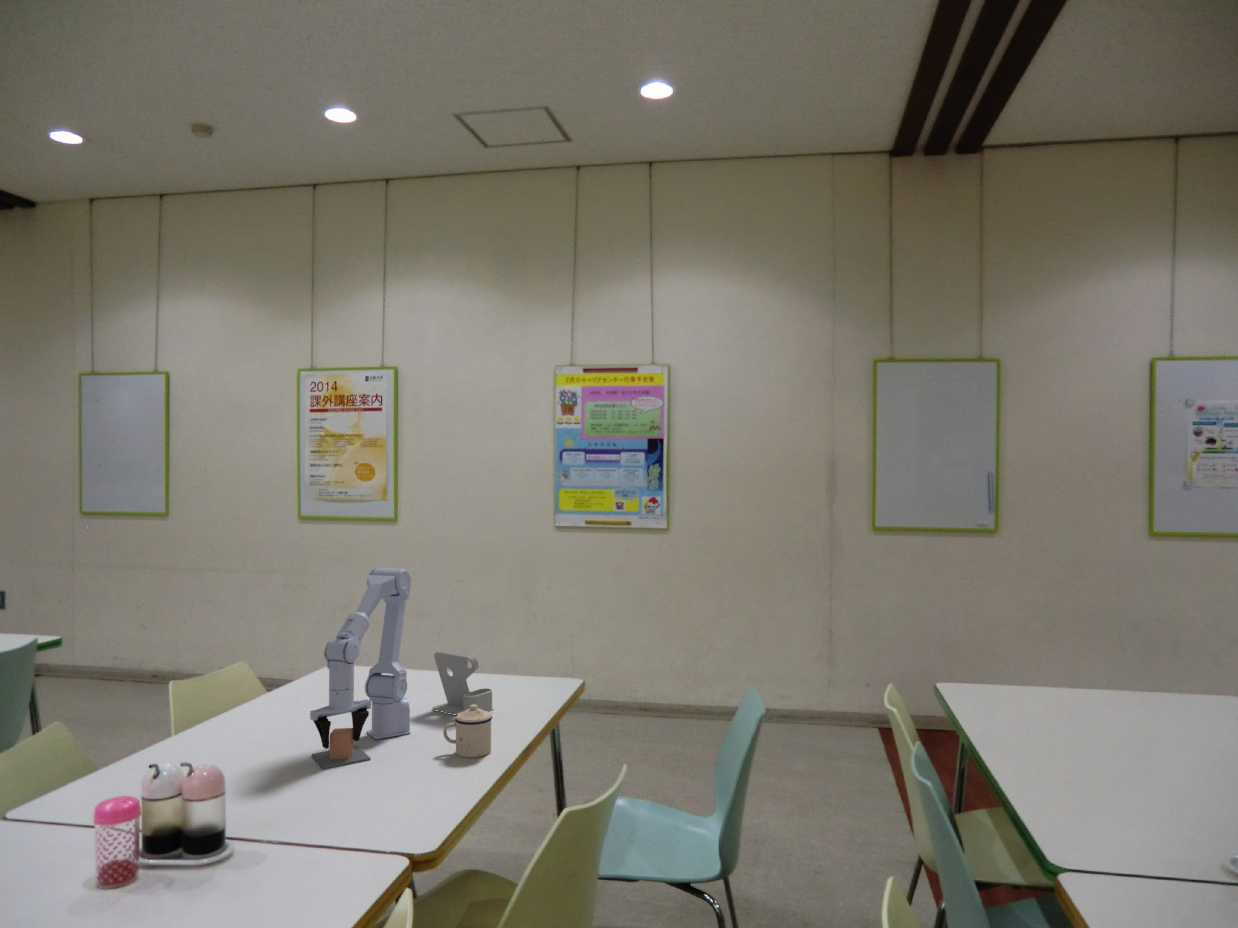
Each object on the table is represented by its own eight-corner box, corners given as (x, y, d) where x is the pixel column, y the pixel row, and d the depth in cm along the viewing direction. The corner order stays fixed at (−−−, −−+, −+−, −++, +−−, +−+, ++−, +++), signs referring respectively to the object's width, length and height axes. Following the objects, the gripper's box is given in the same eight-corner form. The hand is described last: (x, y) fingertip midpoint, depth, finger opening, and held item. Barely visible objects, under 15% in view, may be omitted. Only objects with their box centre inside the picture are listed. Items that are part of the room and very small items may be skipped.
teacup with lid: (493, 745, 199) (494, 699, 200) (489, 758, 190) (490, 710, 190) (446, 746, 199) (446, 700, 199) (440, 759, 190) (440, 710, 190)
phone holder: (496, 711, 229) (496, 649, 230) (471, 720, 221) (471, 656, 222) (455, 702, 239) (455, 643, 240) (429, 710, 231) (430, 648, 231)
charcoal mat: (357, 747, 198) (357, 745, 198) (370, 759, 189) (370, 757, 189) (311, 755, 192) (311, 753, 192) (323, 769, 183) (323, 767, 183)
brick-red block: (352, 752, 193) (353, 727, 193) (348, 758, 188) (349, 733, 189) (334, 753, 192) (334, 728, 193) (329, 759, 188) (329, 734, 188)
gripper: (362, 679, 199) (361, 733, 198) (305, 689, 189) (304, 746, 188) (375, 684, 194) (374, 739, 193) (317, 695, 184) (316, 753, 183)
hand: (341, 743), depth 191 cm, fingers open, 7 cm apart
